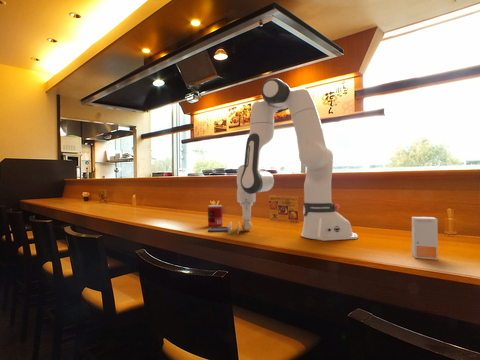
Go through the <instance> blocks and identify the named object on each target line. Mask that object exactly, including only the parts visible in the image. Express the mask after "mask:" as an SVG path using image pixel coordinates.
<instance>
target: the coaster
mask: <svg viewBox="0 0 480 360" xmlns="http://www.w3.org/2000/svg"><path fill="white" fill-rule="evenodd" d="M228 231H229V226H220V227H208V229H207V233H225V232H226V233H228Z"/></svg>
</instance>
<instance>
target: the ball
mask: <svg viewBox="0 0 480 360" xmlns="http://www.w3.org/2000/svg"><path fill="white" fill-rule="evenodd" d="M252 228H253V224H252V221H251V220H249V229H245V220H243V222H242V224H241V229H242V230H243V231H245V232H249V231H251V230H252Z"/></svg>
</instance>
